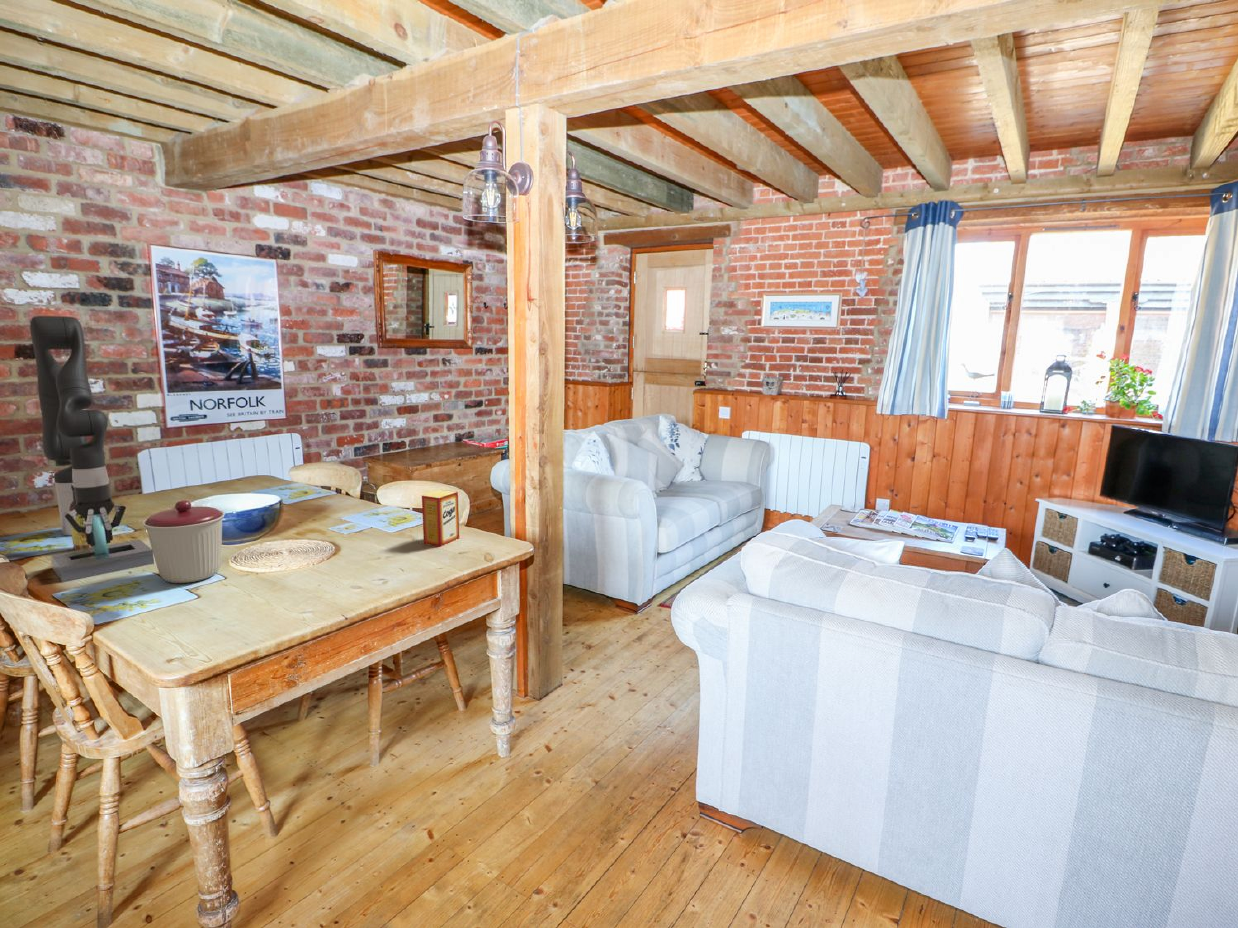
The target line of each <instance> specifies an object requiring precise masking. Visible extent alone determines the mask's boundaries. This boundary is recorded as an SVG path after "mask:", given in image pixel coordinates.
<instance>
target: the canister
mask: <svg viewBox="0 0 1238 928" xmlns="http://www.w3.org/2000/svg"><path fill="white" fill-rule="evenodd" d="M174 507H175V508H171V509H166V510H162V511H159V512H155V513H154V514H151V515H150V516H149V517H148V518H146V519H144V520H143V521H142V523H141V524H142V527H144V528H146V533H147V536H148V539H149V543H150V548H151V549H152V551H153V558H154V562H155V565H156V567H157V568H156V569H157V571H158V573H159V576H160V577H161V579H163V581H165V582H168V583H172V584H186V583H194V582H198V581H202V580H206V579H208V578H210V577H213V576H214V575H216V574H217V573H218V572H219V570H220V568H221V563H222V562H221V561H222V547H223V546H222V544H223V540H222V539H223V518H224V517H225V515H226V514H225V512H224V511H222V510H219V509H218V508H217V507H216V508H215V507H212V506H211V507H210V506H201V505H200V506H192V503H191V501H188V500H178V501H177V502H176V503H175V505H174Z"/></svg>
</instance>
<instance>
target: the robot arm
mask: <svg viewBox="0 0 1238 928" xmlns="http://www.w3.org/2000/svg"><path fill="white" fill-rule="evenodd" d="M29 331H30V337H31V342H32V347H33V353H34V357H35V363H36V375H37V392H38V400H39V406H40V413H41V421H42V425H41V428H42V431H41V432H42V438H41V439H42V449H43V453H44V455H45V457H46V459H47V460H49V461H53V462H55V461H68V460H70V462H71V465H70V466H67V467H66V468H64V469H61V470H58V471H56V472H55V473H54V474H53V480H54V487H55V491H56V498H57V503H58V504H57V505H58V511H59V512H58V513H59V517H60V524H61V531H62V535H64V536H72V531H71V525H72V526H73V528H74V529H75V530H76V531H77V532H78V533H85V537H86V542H87V544H88V545H90V546H94V539H93V533H92V532H91V529H92V522H93V515H96V514H101V516H102V518H103V521H104V524H105V531H106V538H107V544H111V541H113V540H114V537H113V535H114V534H113V530H114V528H116V527H119V526H120V524H121V521H122V519H123V517H124V514H125V512H126V509H127V508H126V506H125V505H124V504H121V503H120V504H117V503H114V501H113V500H112V495H111V489H110V487H111V486H110V478H109V475H108V474H109V473H108V471H107V467H106V461H105V453H104V451H105V450H104V449H105V448H104V445H105V444H104V443H105V438H106V433H107V430H108V424H109V420H108V417H107V415H106V414H105V412H103V411H102V410H100V409H89V408H90V407H91V406H92V405H93V403H94V397H93V393H92V392H93V391H92V389H91V385H90V382H89V376H88V364H87V362H88V361H87V353H86V344H85V337H84V335H85V334H84V330H83V327H82V325H81V323H80V321H79V319H78V318H76V317H74V316H67V315H63V316H59V315H57V316H56V315H55V316H54V315H35V316H33V317H31V319H30V323H29ZM50 350H70V351H71V353H70V355H69V357H68V359H67V360H66V361H65V362H64V364H63V365H61V364H60V363H59V362H58V360H56V358H54V356H53V354H52V353H51V352H50ZM88 437H91V439H90V441H88ZM72 484H73V486H74V493H75V499H76V506H75V508H74V510H72V511H70V510H69V508H70V505H71V503H72V502H73V490H72V489H71V485H72ZM113 509H114V510H113ZM112 510H113V511H114V512H115V514H114V517H113V519H112V521H111V520H110V518H109V514H110V513H111V511H112ZM76 513H78V514H79V515H81V516H82V517H83V518H84V527H80V526H79V525H78V523H77V522H76V521H75V520H74V519H75V518H76ZM110 521H111V522H110Z"/></svg>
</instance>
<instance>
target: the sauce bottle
mask: <svg viewBox="0 0 1238 928" xmlns="http://www.w3.org/2000/svg"><path fill="white" fill-rule="evenodd" d="M71 489H72V490H73V502H72V503H71V505H70V508H69V510H70V511H72V510H74V508H75V506H76V499H75V493H74V486H73V484H72V485H71ZM74 520H75V521H76V522H77V523H78V525H79V526H80V527H84V518H83V517H82V516H81V515H79V514H78V513H76V518H75V519H74ZM71 531H72V535H71V539H72V545H73V551H76V550H82V549H88V548H93V547H94V546H90V545H88V544H87V542H86V537H85V533H78V532H77V531H76V530H75V529H74V528H73V526H72V525H71Z"/></svg>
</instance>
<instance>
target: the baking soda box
mask: <svg viewBox="0 0 1238 928" xmlns="http://www.w3.org/2000/svg"><path fill="white" fill-rule="evenodd" d="M421 510H422V529H423V531H422V533H423V544H424V545H428V544H430V545H429V546H435V547H440V548H441V547H444V546H446V545H449V544H450V543H452V542H454V541H457V540H459V539H460V520H459V519H460V518H459V517H460V515H459V514H460V513H459V492H458V491H453V490H447V489H439V490H436V491H430V492H428V493H425V494H423V495H421ZM456 539H457V540H456ZM445 544H446V545H445Z"/></svg>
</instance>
